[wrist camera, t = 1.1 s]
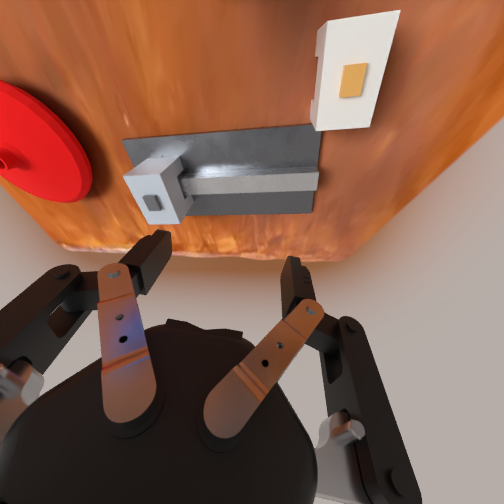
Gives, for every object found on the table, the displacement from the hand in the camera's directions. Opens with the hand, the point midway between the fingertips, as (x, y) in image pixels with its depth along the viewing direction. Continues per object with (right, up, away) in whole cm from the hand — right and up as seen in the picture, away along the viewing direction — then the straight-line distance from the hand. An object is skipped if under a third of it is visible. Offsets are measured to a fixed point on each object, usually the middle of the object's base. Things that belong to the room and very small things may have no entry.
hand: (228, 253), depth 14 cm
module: (+10, +18, +7) cm, 22 cm away
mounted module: (-10, +11, +16) cm, 22 cm away
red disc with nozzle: (-29, +16, +16) cm, 37 cm away
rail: (-2, +11, +16) cm, 20 cm away
